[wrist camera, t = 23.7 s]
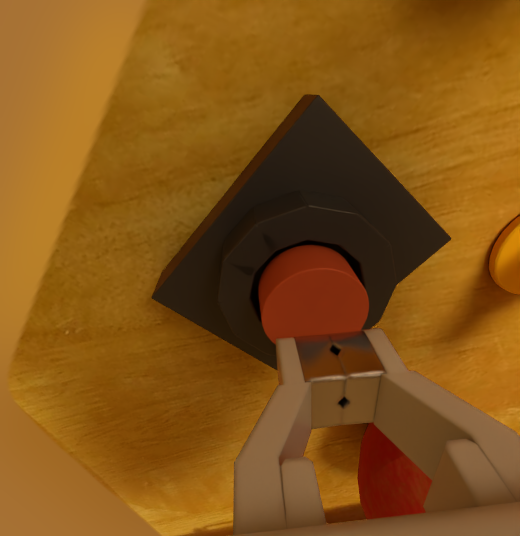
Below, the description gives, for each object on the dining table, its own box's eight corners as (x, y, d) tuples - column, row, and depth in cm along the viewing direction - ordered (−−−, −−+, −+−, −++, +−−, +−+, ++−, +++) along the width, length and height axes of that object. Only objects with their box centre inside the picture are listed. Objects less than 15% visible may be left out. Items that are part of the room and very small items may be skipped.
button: (305, 224, 11) (316, 246, 9) (371, 280, 12) (391, 307, 10) (238, 293, 12) (239, 323, 10) (305, 337, 13) (314, 370, 12)
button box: (305, 93, 12) (333, 94, 8) (424, 219, 15) (482, 259, 11) (161, 272, 15) (139, 325, 12) (281, 346, 18) (292, 407, 15)
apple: (330, 392, 20) (410, 646, 11) (458, 363, 20) (655, 605, 10) (345, 460, 24) (412, 688, 15) (451, 437, 24) (589, 659, 14)
